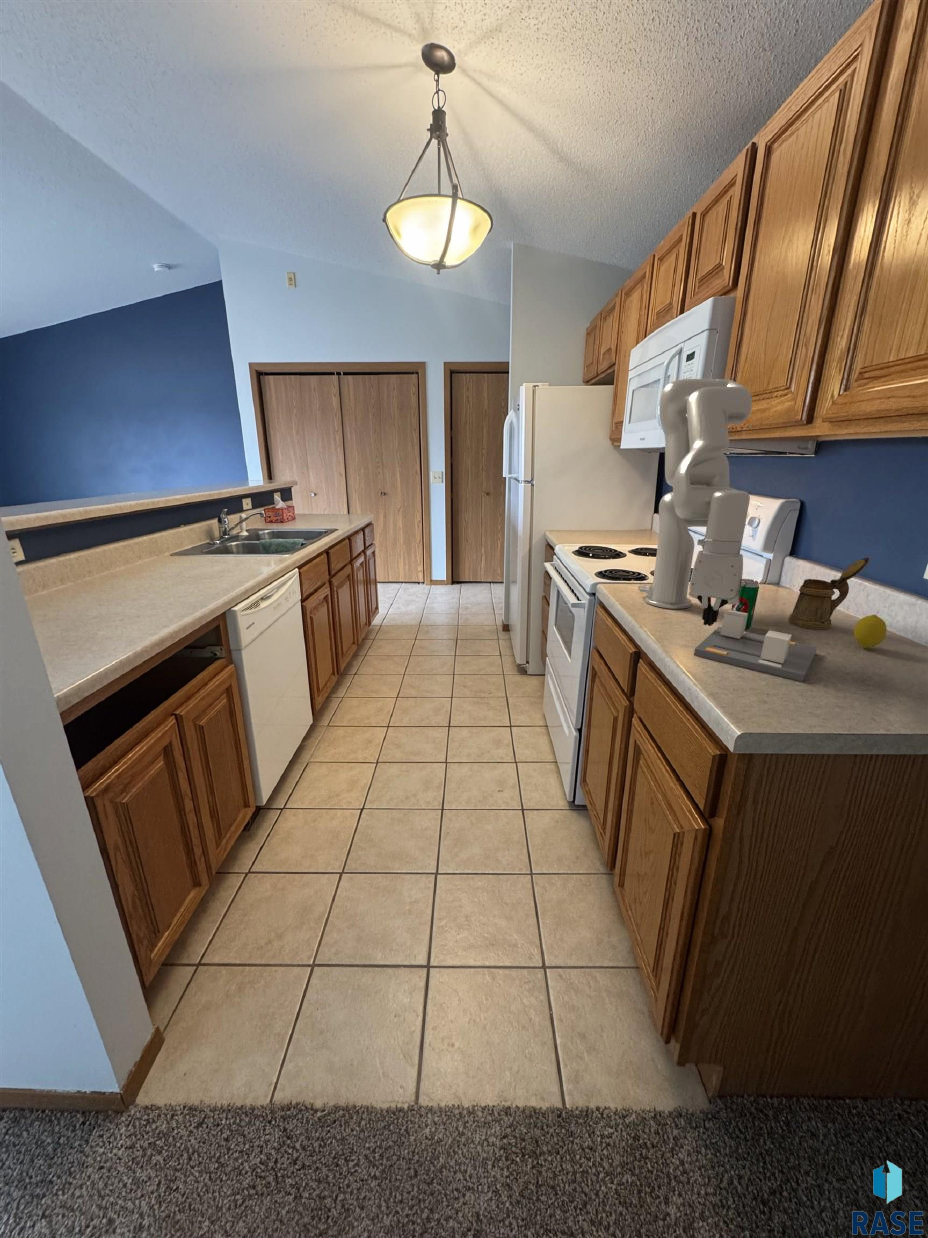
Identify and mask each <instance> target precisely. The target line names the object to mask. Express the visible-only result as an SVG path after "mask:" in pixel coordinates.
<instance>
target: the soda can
mask: <svg viewBox="0 0 928 1238" xmlns="http://www.w3.org/2000/svg"><path fill="white" fill-rule="evenodd" d="M759 591H760V584H759V581H758V580H755V579H752V578H742V584H741V590H740V593H739V603H737V604H731V608H730V610H731V611H737V612H742V613H748V616H747V621H746V626H745V630H749V629H751V628H752V626H753V621H754V620H753V619H754V615H755V611H756V607H757V601H758V596H759Z"/></svg>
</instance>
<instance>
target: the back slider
mask: <svg viewBox="0 0 928 1238" xmlns="http://www.w3.org/2000/svg"><path fill="white" fill-rule="evenodd" d="M747 616H748V613H742V612H737V611H731V609H730V610H729V609H728V610H727V611H726V612H725V613H724V614H723V619H722V625H721V627H722V629H721V635H724V636H729V637H734V638H738V639H740V638H741V637H742V636H743V634H744V632H746V631H745V626H746V621H747Z"/></svg>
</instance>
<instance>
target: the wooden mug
mask: <svg viewBox="0 0 928 1238" xmlns="http://www.w3.org/2000/svg"><path fill="white" fill-rule="evenodd" d="M869 562H870V557H864V558H861V559H858V560H856V561H854V562H852V563H851V564H850V565H848V566H847V568H845V569H844V570H843V571H842V573H841V575H840V577H839V578H838V579H834V578H833V579H830V581H826V580H822V579H815V578H807V579H804V580H803V583H802V584H801V585H800V587H799V589H798V590H799V594H798V597H797V599H796V602H795V605H794V608H793V609H792V610H793V611H792V612H791V613H790V614H789V616H788V619H787V621H788V623H790V624H791V625H793V626H796V627H799V628H803V629H809V630H817V631H819V630H828V629H830V628H831V626H832V619H831V617H832V615H833V613H834V612H835V610H836V609H837V608H838V607H839V606H840V605H841V604H842V603H843V602H844V601H845V600H846V598H847V596H848V594H849V592H850V591H849V590H850V587H849V583H848V580H851V579H852V578H854V577H856V576H857V575H859V574H860V573H861V572H863V570H864V569H865V568H866V567H867V566H868V564H869ZM835 590H837V591H838V592H839V595H838V596H837V597H836V598H834V599H833V596H834V595H835V594H836V591H835Z"/></svg>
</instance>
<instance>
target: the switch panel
mask: <svg viewBox="0 0 928 1238" xmlns="http://www.w3.org/2000/svg"><path fill="white" fill-rule="evenodd" d="M721 629H722V626H718V627H716V629H714V630H713V631H712V632H711V633H710V634H709V635H708V636H707V637H706V638H705V639H704V640H703V641H702V642H700V643H699V644H698V645H696V646H695V648H694V651H693V656H696V657H701V658H704V659H707V660H708V659H709V660H713V661H717V662H720V663H725V664H728V665H734V666H736V667H742V668H745V669H748V670H753V671H757V672H762V673H765V674H770V675H772V676H773V675H774V676H777V677H782V678H786V679H790V680H793V681H798V682H804V679H805V678H806V675H807V673H808V671H809V670H810V667H811V665H812V662H813V660H814V659H815V656H816V654H817V651H818V646H813V645H810V644H809V645H808V644H803V643H799V642H795V641H790V645H789V649H788V654H787V658H786V659H785V661H784V663H783V664H782V663H778V662H774V661H770V660H765V659H761V653H762V648H763V644H764V639H765V635H760V634H756V633H750V632H746V631H744V634H743V636H742V637H741V638H740V639H738V638H734V637H729V636H724V635H721Z"/></svg>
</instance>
